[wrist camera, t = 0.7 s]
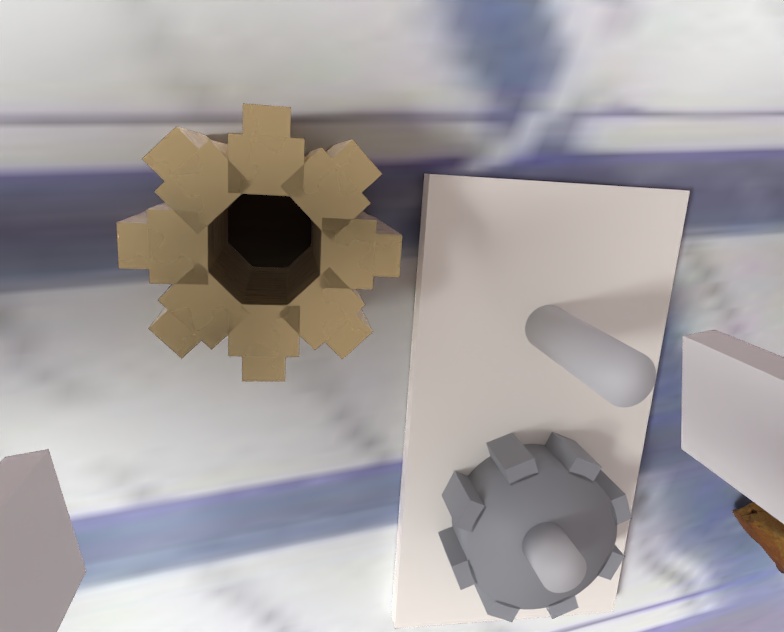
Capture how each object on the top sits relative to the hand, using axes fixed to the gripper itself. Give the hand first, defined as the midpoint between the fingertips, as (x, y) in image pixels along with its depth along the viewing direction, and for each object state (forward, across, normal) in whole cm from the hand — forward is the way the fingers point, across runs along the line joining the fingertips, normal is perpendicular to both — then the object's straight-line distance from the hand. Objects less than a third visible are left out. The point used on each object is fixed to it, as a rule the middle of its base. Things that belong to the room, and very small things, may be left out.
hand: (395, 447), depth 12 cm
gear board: (+19, +10, -10) cm, 23 cm away
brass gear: (+19, -2, +3) cm, 19 cm away
